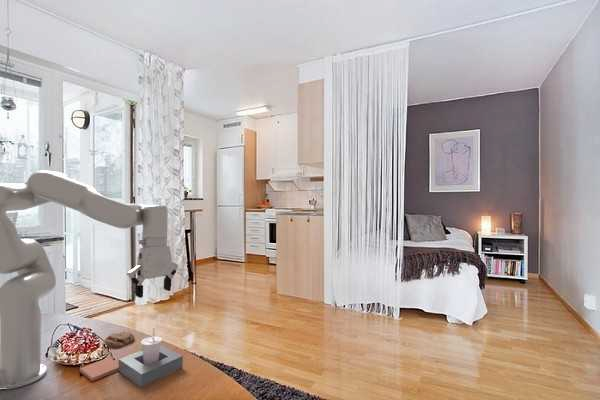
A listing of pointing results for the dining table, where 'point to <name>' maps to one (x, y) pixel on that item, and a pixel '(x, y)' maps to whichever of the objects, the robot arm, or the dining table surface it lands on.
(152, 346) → the smoothie
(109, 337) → the cookie
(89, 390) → the dining table surface
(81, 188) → the robot arm
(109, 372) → the pad
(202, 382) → the dining table surface
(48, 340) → the dining table surface
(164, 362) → the box
